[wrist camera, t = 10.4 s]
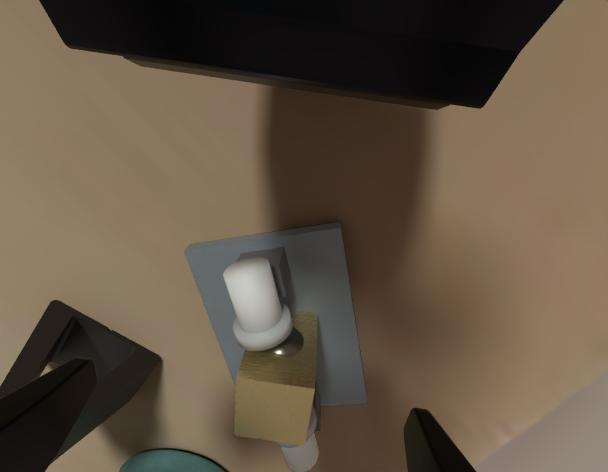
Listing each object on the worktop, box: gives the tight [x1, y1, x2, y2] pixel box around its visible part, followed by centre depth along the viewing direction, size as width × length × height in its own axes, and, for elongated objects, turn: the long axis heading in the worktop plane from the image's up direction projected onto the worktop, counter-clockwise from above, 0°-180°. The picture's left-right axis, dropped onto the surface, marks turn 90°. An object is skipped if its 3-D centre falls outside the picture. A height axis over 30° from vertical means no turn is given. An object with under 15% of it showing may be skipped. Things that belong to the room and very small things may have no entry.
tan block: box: [234, 309, 318, 446], centre depth 19 cm, size 5×4×6 cm
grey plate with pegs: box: [184, 222, 368, 472], centre depth 20 cm, size 15×10×6 cm, turn 11°
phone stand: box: [0, 300, 160, 464], centre depth 20 cm, size 9×6×12 cm, turn 53°
